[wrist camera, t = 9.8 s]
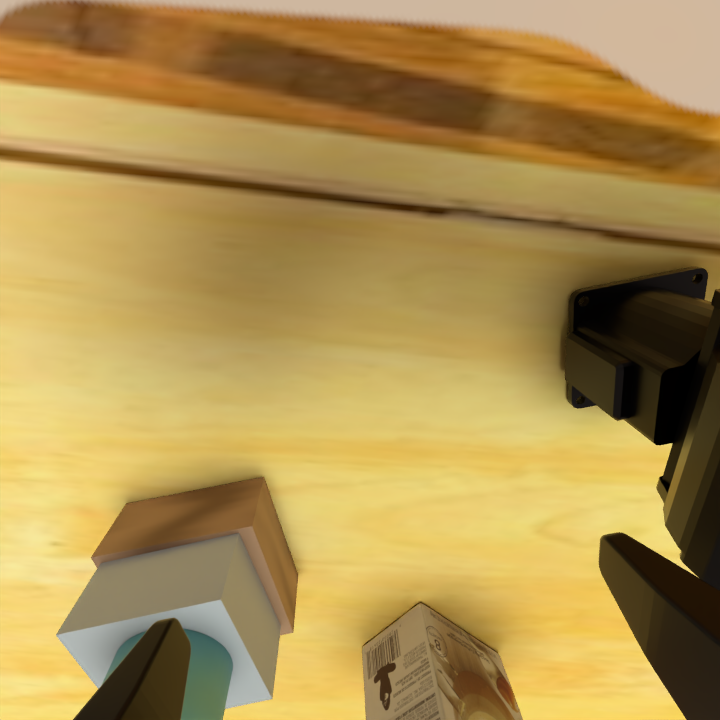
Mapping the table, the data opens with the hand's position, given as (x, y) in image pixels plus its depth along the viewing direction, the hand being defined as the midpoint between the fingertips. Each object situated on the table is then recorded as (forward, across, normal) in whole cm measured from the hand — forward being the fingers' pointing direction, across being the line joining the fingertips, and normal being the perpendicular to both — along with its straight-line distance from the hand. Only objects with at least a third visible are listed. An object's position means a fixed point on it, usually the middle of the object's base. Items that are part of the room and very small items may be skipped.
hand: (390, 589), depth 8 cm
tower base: (+13, +10, +10) cm, 20 cm away
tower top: (+9, +11, +10) cm, 17 cm away
